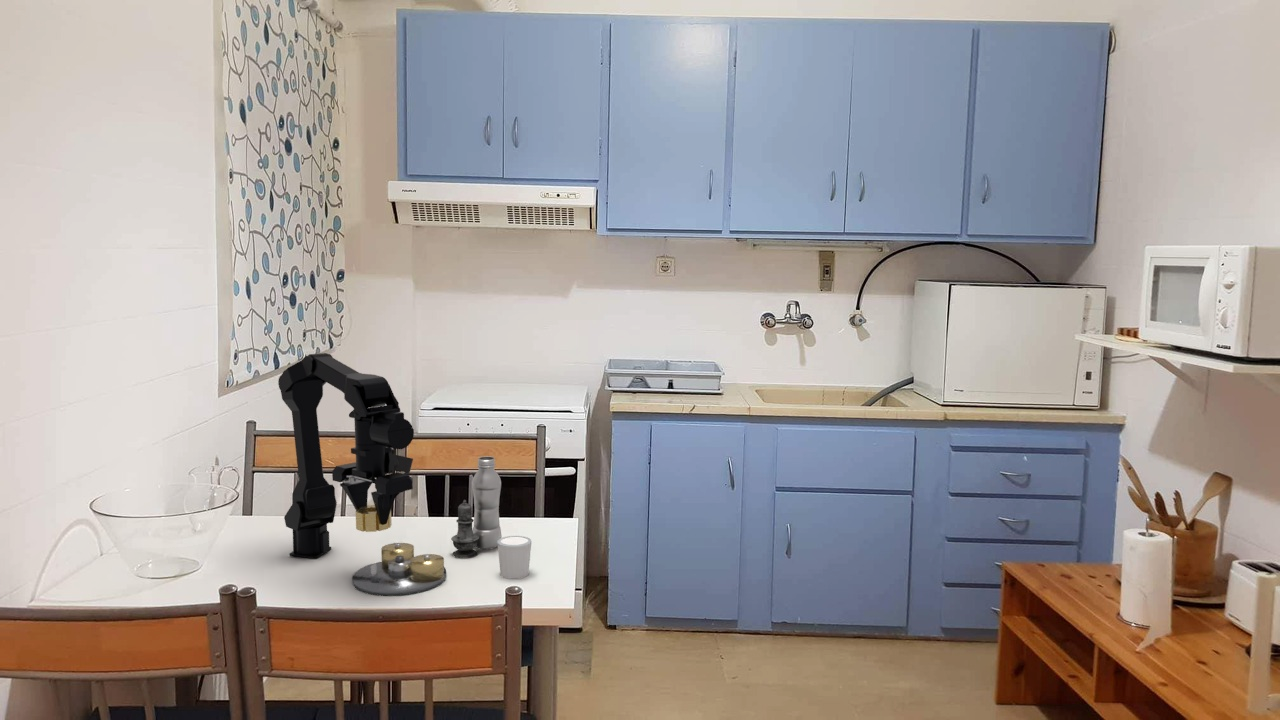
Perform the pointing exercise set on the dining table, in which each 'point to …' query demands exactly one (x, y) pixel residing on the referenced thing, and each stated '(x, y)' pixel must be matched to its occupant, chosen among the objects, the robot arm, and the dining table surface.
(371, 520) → the gear
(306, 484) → the robot arm
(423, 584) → the carrier
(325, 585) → the dining table surface
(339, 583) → the dining table surface
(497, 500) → the plastic bottle
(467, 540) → the salt shaker
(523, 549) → the shot glass
